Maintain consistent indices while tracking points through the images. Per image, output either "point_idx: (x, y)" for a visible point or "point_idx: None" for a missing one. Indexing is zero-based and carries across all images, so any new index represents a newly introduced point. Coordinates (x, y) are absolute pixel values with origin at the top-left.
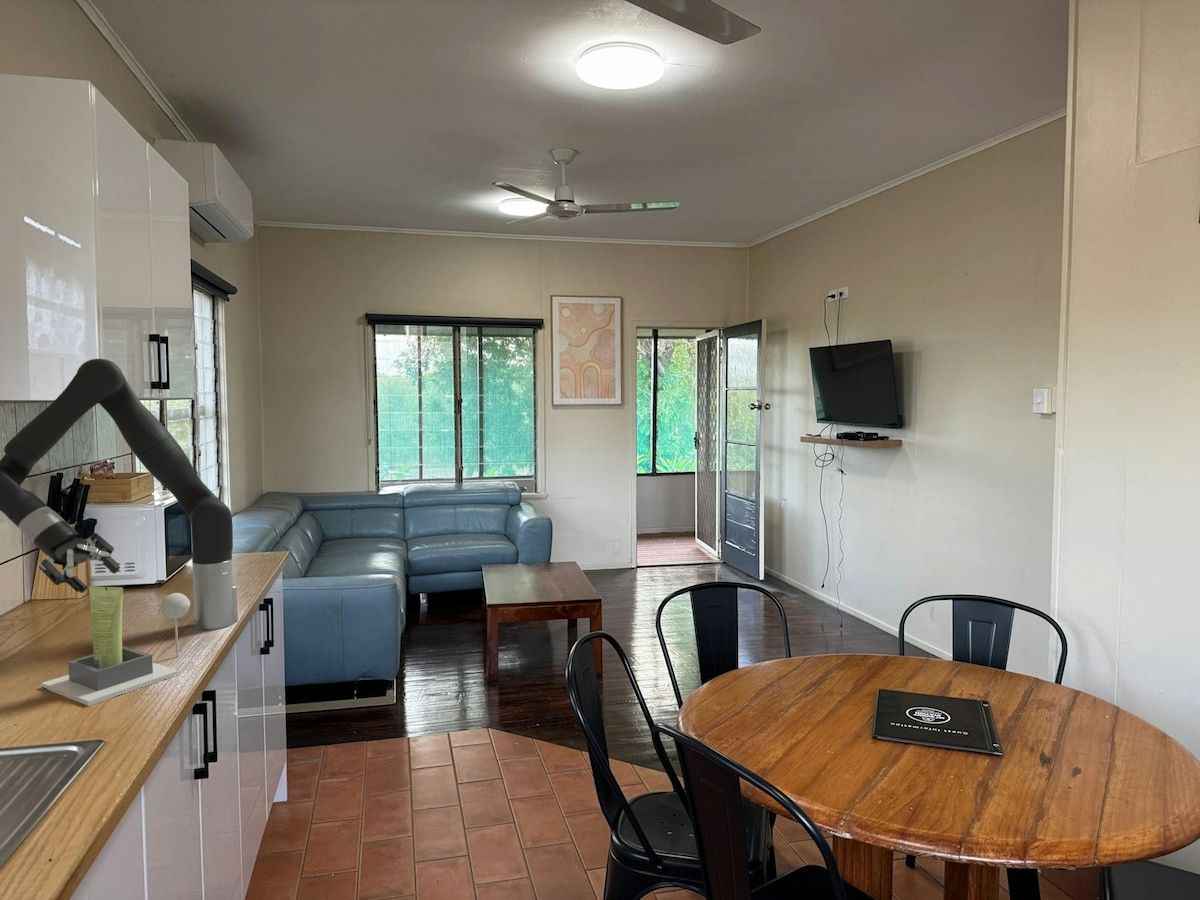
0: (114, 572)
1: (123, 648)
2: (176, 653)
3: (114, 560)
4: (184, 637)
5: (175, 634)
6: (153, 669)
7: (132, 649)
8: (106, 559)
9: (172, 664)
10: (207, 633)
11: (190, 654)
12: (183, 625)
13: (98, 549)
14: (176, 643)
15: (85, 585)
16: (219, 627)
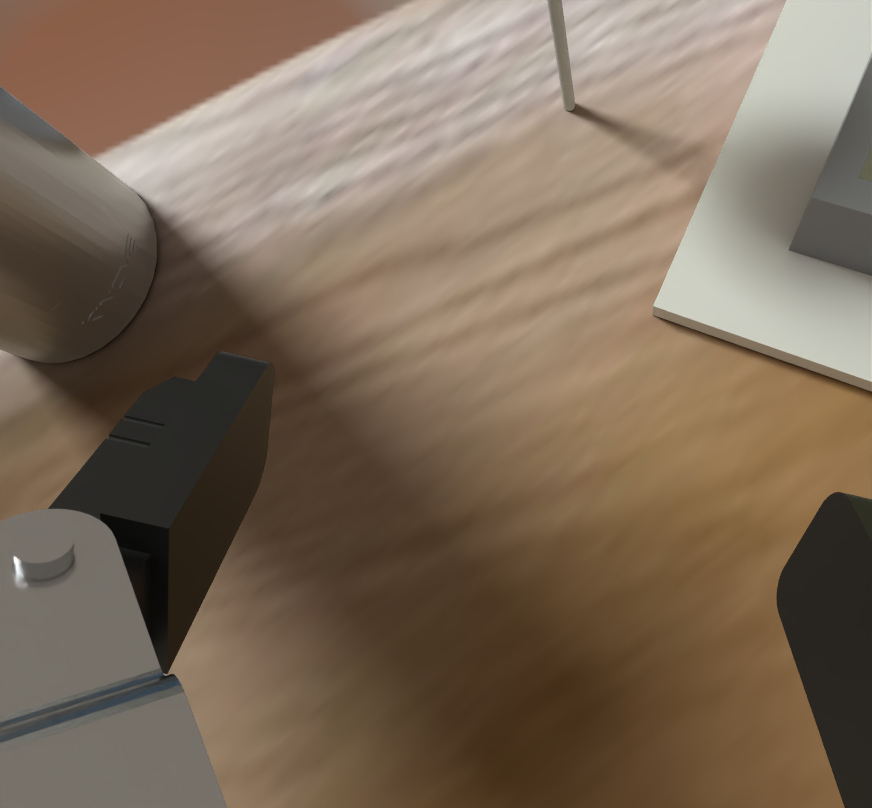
0: (262, 453)
1: (861, 156)
2: (572, 94)
3: (102, 446)
4: (270, 286)
5: (563, 17)
6: (849, 17)
7: (868, 83)
8: (181, 518)
9: (683, 49)
10: (206, 210)
11: (525, 68)
12: (77, 434)
13: (14, 727)
14: (567, 53)
15: (862, 504)
16: (134, 191)
